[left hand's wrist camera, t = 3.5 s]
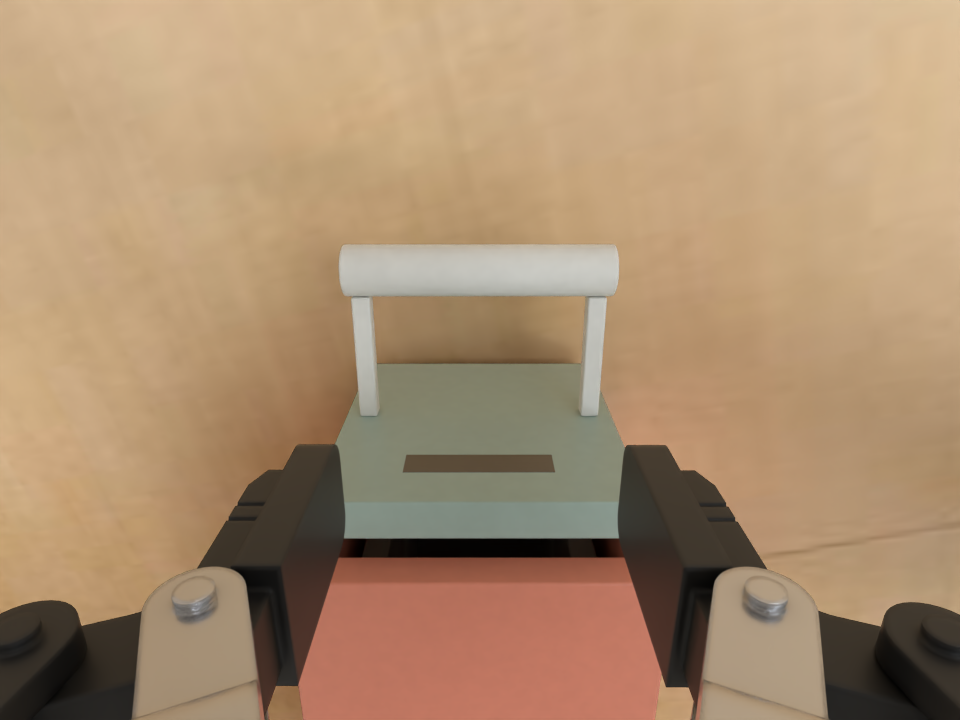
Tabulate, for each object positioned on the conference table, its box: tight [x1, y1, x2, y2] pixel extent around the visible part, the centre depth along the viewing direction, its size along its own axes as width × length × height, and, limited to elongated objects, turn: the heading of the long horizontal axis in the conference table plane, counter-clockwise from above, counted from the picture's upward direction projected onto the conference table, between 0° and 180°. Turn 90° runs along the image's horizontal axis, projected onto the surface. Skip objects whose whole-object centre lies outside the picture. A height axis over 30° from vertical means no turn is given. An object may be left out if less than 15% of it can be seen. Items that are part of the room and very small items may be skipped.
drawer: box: [335, 244, 625, 558], centre depth 24 cm, size 25×9×10 cm, turn 0°
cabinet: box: [298, 538, 661, 720], centre depth 26 cm, size 21×10×12 cm, turn 0°
